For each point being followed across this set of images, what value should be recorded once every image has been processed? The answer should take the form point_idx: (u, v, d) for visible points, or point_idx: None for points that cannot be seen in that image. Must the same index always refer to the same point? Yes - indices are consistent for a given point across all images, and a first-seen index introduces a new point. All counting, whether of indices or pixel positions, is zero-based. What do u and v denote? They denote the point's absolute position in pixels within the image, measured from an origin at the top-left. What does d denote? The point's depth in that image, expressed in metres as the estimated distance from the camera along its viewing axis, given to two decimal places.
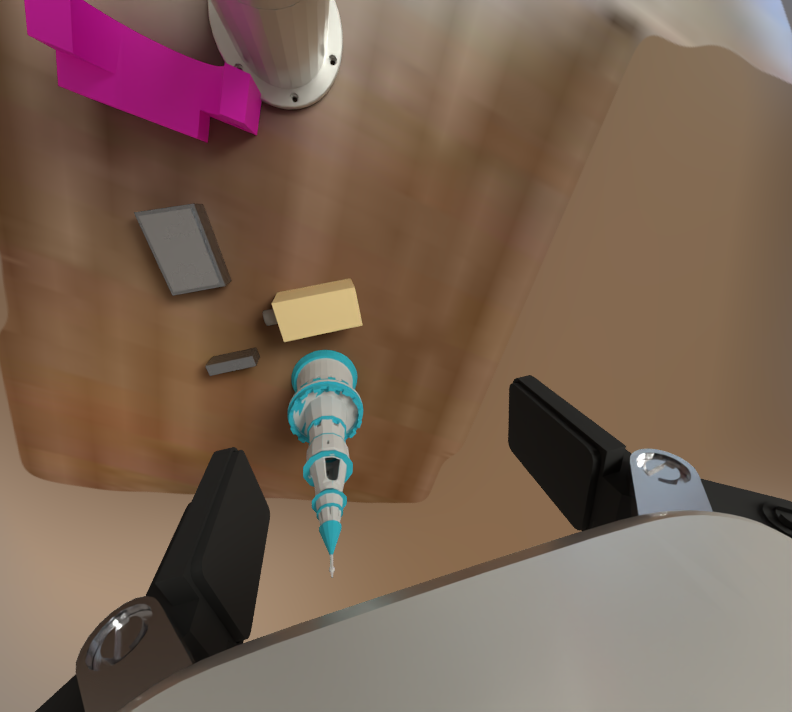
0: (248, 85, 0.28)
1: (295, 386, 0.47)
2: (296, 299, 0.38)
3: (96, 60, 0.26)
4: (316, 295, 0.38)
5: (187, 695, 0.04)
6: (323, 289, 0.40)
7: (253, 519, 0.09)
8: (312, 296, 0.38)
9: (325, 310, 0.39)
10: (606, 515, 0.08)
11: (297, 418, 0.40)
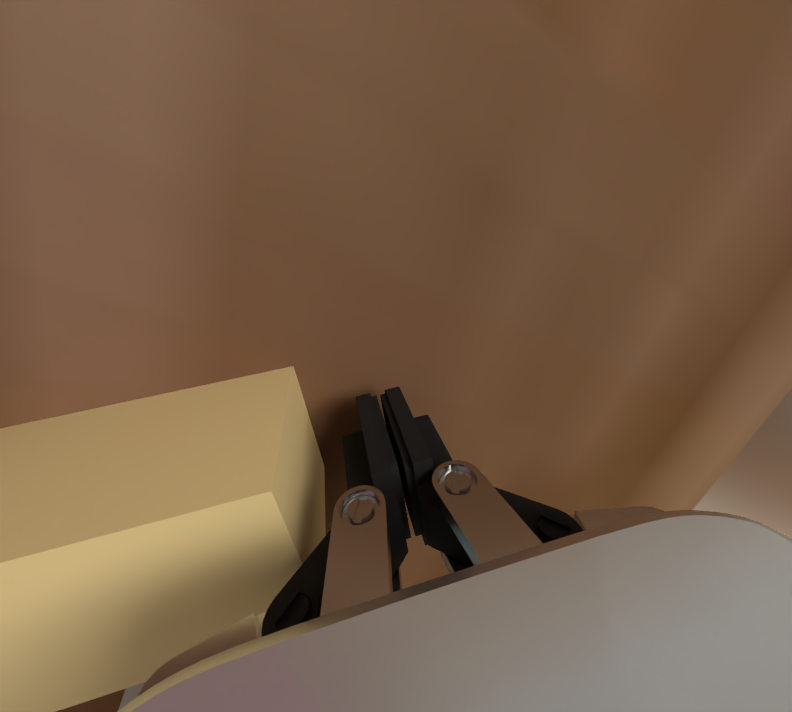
0: None
1: None
2: None
3: None
4: (13, 561, 0.06)
5: (187, 695, 0.04)
6: (125, 465, 0.08)
7: None
8: None
9: (106, 610, 0.07)
10: (423, 522, 0.08)
11: None
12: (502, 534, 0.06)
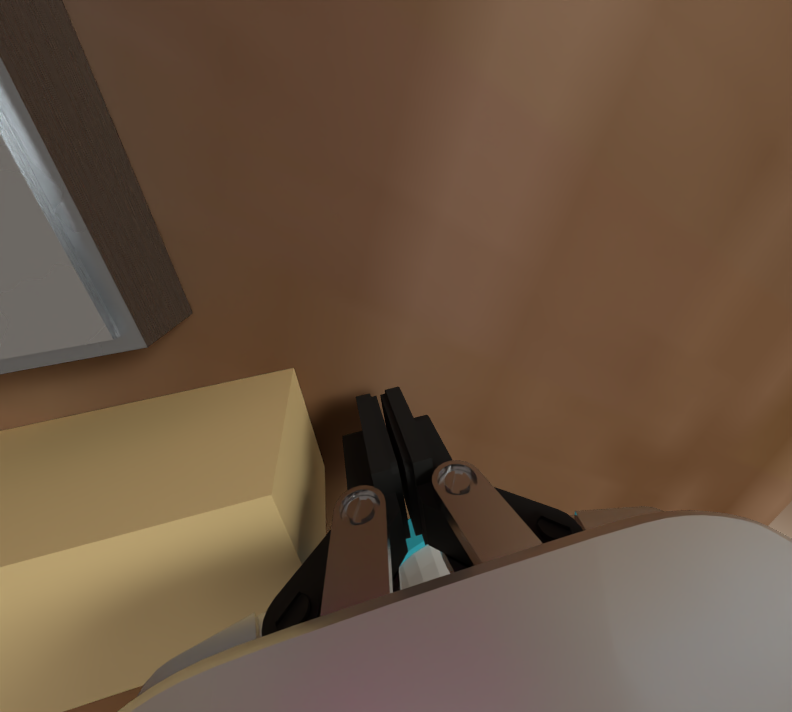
0: None
1: None
2: None
3: None
4: (14, 565, 0.06)
5: (187, 695, 0.04)
6: (126, 468, 0.08)
7: None
8: None
9: (107, 614, 0.07)
10: (423, 522, 0.08)
11: None
12: (502, 534, 0.06)
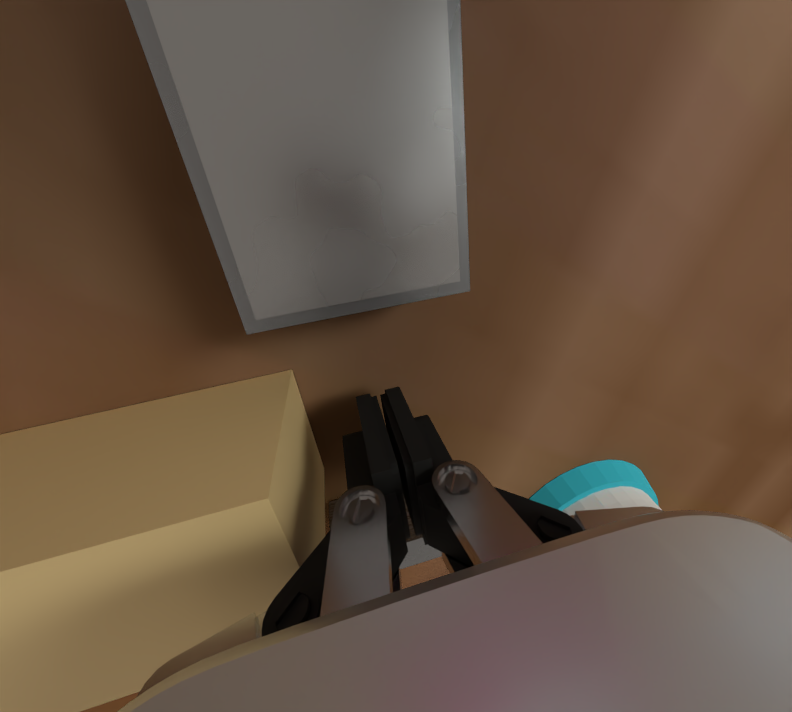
0: None
1: None
2: None
3: None
4: (8, 572, 0.06)
5: (187, 695, 0.04)
6: (122, 472, 0.08)
7: None
8: None
9: (104, 619, 0.07)
10: (423, 522, 0.08)
11: None
12: (502, 534, 0.06)
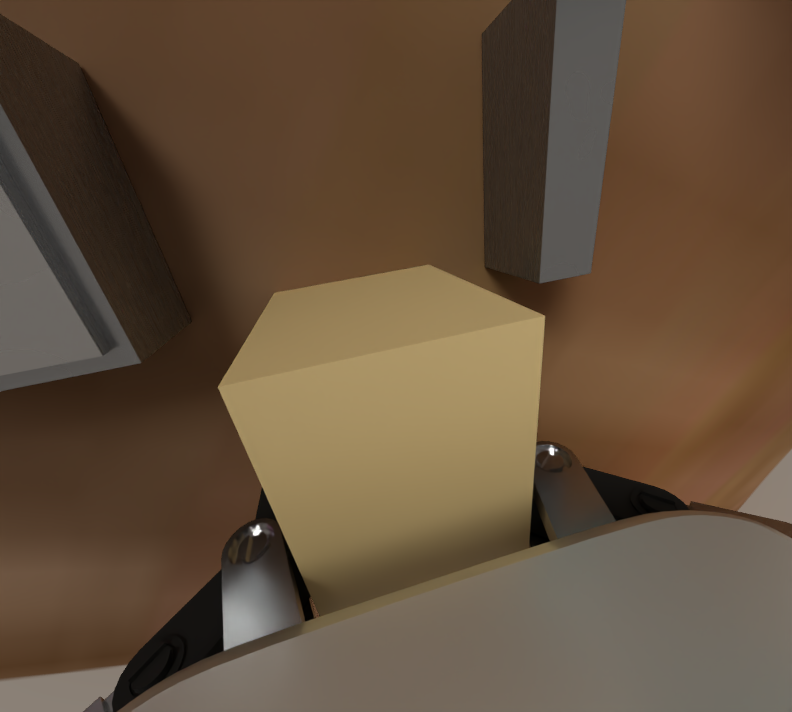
0: None
1: None
2: None
3: None
4: (310, 581, 0.06)
5: (187, 695, 0.04)
6: None
7: None
8: (317, 596, 0.07)
9: (400, 534, 0.06)
10: None
11: None
12: (583, 516, 0.06)
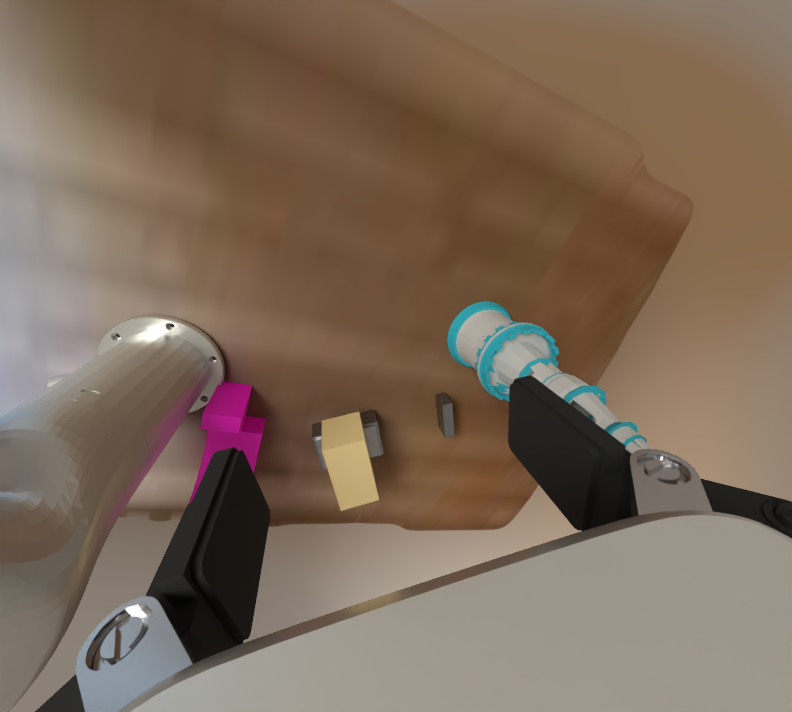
0: (211, 414, 0.33)
1: None
2: (336, 494, 0.39)
3: None
4: (332, 480, 0.38)
5: (187, 695, 0.04)
6: None
7: (253, 519, 0.09)
8: (333, 483, 0.38)
9: (347, 472, 0.38)
10: (606, 515, 0.08)
11: None
12: None
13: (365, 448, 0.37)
